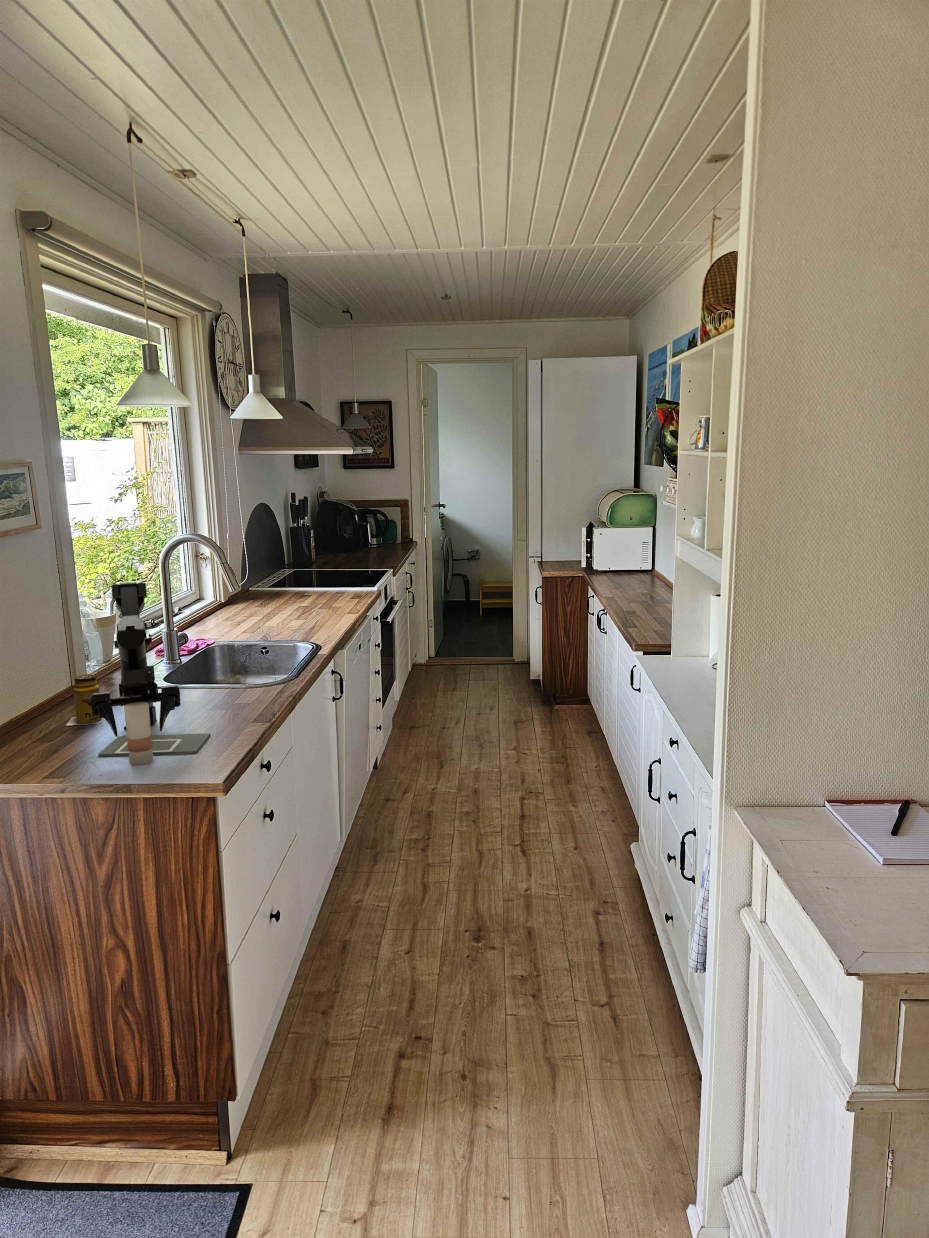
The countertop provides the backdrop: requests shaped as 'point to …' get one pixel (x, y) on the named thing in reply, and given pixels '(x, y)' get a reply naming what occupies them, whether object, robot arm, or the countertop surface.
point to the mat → (160, 745)
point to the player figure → (138, 733)
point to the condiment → (84, 700)
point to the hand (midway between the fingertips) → (138, 733)
